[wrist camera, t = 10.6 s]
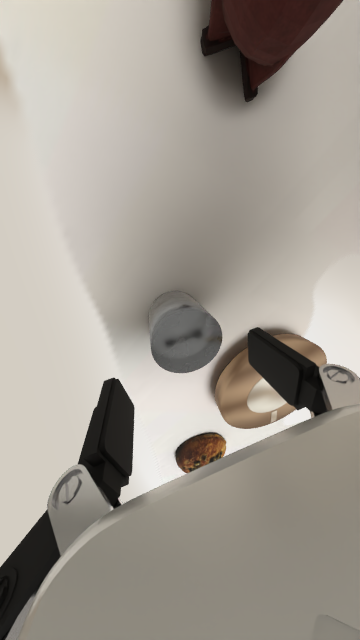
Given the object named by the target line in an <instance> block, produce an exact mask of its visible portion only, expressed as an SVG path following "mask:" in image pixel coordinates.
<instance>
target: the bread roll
mask: <svg viewBox="0 0 360 640" xmlns="http://www.w3.org/2000/svg"><path fill="white" fill-rule="evenodd" d="M225 450H226V441H225V440H224V439H223V437H222V436H220V435H217V434H215V433H211V434H203V435H200V436H199V435H198V436H196V437H193V438H191V439H189V440H187V441H186V442H184V443H183V444H182V445H180V446H179V447H178V448H177V451H176V462H177V465H178V466H179V468H181V469H182V471H184V472H185V473H190V472H192V471H194V470H196V469H198V468H201V467H203V466H205V465H207V464H209V463H212V462H214V461H216V460H218V459H221V458H223V456H224V454H225Z"/></svg>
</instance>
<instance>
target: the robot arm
mask: <svg viewBox="0 0 360 640" xmlns="http://www.w3.org/2000/svg"><path fill="white" fill-rule="evenodd" d="M248 361H249V364H250V365H251V366H252V367H253V368H254V369H255V370H256V371H257V372H258V373H259V374H260V375H261V376H262V377H263V378H264V379H265V380H266V382H267V383H268V384H269V385H270V386H271V387H272V388H273V389H274V390H275V391H276V392H277V393H278V394H279V395H280V396H281V397H282V398H283V399H284V400H285V401H286V402H287V403H288V404H289V405H291V406H294V407H295V408H296V409H297V410H299V409H302V408H304V407H306V408H308V409H309V410H310V413H311V419H309V420H306V421H304V422H301V423H299V424H297V425H295V426H292V427H290V428H288V429H286V430H283V431H281V432H279V433H277V434H274V435H272V436H270V437H267V438H265V439H263V440H261V441H258V442H256V443H254V444H252V445H250V446H247V447H245V448H243V449H241V450H238V451H236V452H234V453H232V454H229V455H227V456H225V457H223V458H221V459H218V460H216V461H214V462H212V463H209V464H207V465H205V466H203V467H201V468H198V469H196V470H194V471H192V472H190V473H187V474H185V475H183V476H181V477H179V478H177V479H174V480H172V481H170V482H168V483H166V484H163V485H161V486H159V487H157V488H155V489H153V490H151V491H149V492H147V493H145V494H142V495H140V496H138V497H136V498H134V499H132V500H130V501H128V502H126V503H125V504H123V502H122V501H121V500H120V498H119V496H120V492H121V487H123V486H126V485H128V484H129V476H131V473H132V459H133V431H134V405H133V403H132V401H131V399H130V398H129V396H128V394H127V393H126V391H125V389H124V388H123V386H122V384H121V383H120V381H119V379H115V378H111V379H108V380H106V381H104V383H103V387H102V390H101V394H100V397H99V401H98V405H97V407H96V408H95V409H94V411H93V415H92V418H91V421H90V424H89V428H88V431H87V435H86V438H85V441H84V445H83V448H82V451H81V455H80V459H79V462H78V465H75V466H73V467H71V468H70V469H68V470H67V471H66V472H65V473H64V474H63V475H62V476H61V477H60V478H59V480H58V481H57V482H56V484H55V486H54V487H53V489H52V491H51V494H50V496H49V499H48V504H47V508H48V509H47V510H46V512H45V513H44V514H43V516H42V517H41V518H40V519H39V520H38V522H37V523H36V524H35V525H34V526H33V528H32V529H31V530H30V531H29V533H28V534H27V535H26V536H25V538H24V539H23V540H22V541H21V543H20V544H19V545H18V546H17V547H16V549H15V550H14V551H13V552H12V554H11V555H10V556H9V558H8V559H7V560H6V561H5V562H4V563H3V565H2V566H1V567H0V640H360V378H359V377H358V376H357V375H356V374H355V373H354V372H352V371H351V370H349V369H347V368H345V367H342V366H340V365H335V364H324V365H322V366H320V367H318V366H317V365H316V363H314V362H313V361H311V360H309V359H308V358H306V357H305V356H303V355H302V354H300V353H298V352H297V351H295V350H294V349H292V348H290V347H289V346H287V345H286V344H284V343H283V342H281V341H279V340H278V339H276V338H275V337H273V336H271V335H270V334H268V333H267V332H265V331H264V330H262V329H260V328H258V327H257V328H254V329H251V330H250V331H249V333H248Z"/></svg>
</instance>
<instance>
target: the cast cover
mask: <svg viewBox="0 0 360 640" xmlns="http://www.w3.org/2000/svg"><path fill="white" fill-rule="evenodd" d="M149 328H150V341H151V351H152V355H153V358H154V360H155V361H156V363H157V364H158V365H159V366H160V367H162V368H163V369H165V370H167V371H170V372H174V373H187V372H192V371H195V370H198V369H200V368H202V367H203V366H205V365H207V364H208V363H209V362H210V361H211V360H212V359H213V358H214V357H215V356H216V354H217V353H218V351H219V349H220V346H221V343H222V331H221V328H220V325H219V324H218V322H217V321H216V320H215V319H214V318H213V317H212V316H211V315H210V314H209V313H208V312H207V311H206V310H205V309H204V308H203V307H202V306H201V305H200V304H199V303H198V302H197V301H196V300H195V299H194V298H193V297H191V296H190V295H189V294H187V293H184V292H181V291H171V292H167V293H164V294H162V295H161V296H159V297H158V298H157V299H156V300H155V301H154V302H153V304H152V305H151V308H150V311H149Z"/></svg>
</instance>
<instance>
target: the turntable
mask: <svg viewBox="0 0 360 640" xmlns="http://www.w3.org/2000/svg"><path fill="white" fill-rule="evenodd" d="M273 337H275V338H276V339H278V340H279V341H281V342H283V343H284V344H286V345H287V346H289V347H290V348H292V349H294V350H295V351H297V352H298V353H300V354H302V355H303V356H305V357H306V358H308V359H309V360H311V361H313V362H314V363H316V365H317V366H318V367H320V366H322V365H324V364H327V359H326V355H325V353H324V351H323V350H322V349H321V348H320V347H319V346H318V345H316V344H314V343H312V342H310V341H309V340H307V339H305V338H303V337H301V336H299V335H295V334H278V335H273ZM215 401H216V404H217V406H218V408H219V410H220V412H221V415H222V417H223V418H224V420H225V421H226V422H227V423H228V424H229V425H231V426H233V427H236V428H242V429H251V428H257V427H262V426H265V425H268V424H271V423H273V422H275V421H278V420H280V419H281V418H283V417H285V416H287V415H288V414H290V413H291V412H293V411H294V410H296V408H295V407H294V406H291V405H289V404H288V403H287V402H286V401H285V400H284V399H283V398H282V397H281V396H280V395H279V394H278V393H277V392H276V391H275V390H274V389H273V388H272V387H271V386H270V385H269V384H268V383H267V382H266V380H265V379H264V378H263V377H262V376H261V375H260V374H259V373H258V372H257V371H256V370H255V369H254V368H253V367H252V366H251V365H250V364H249V361H248V347H247V348H246V349H244V350H243V351H242V352H240V353H239V354H238V355H237V356H236V357H235V358H234V359H233V360H232V361H231V362H230V363H229V364H228V365H227V366H226V368H225V369H224V371H223V372H222V374H221V375H220V377H219V379H218V382H217V384H216V388H215Z"/></svg>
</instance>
